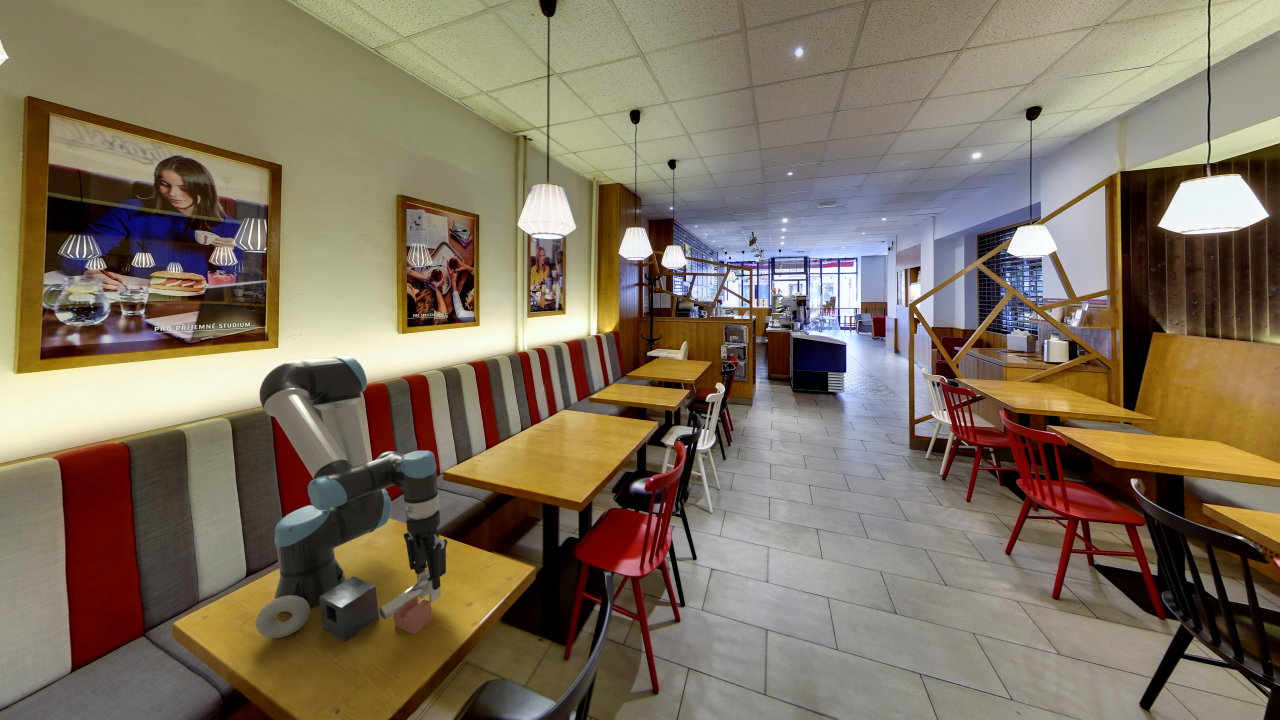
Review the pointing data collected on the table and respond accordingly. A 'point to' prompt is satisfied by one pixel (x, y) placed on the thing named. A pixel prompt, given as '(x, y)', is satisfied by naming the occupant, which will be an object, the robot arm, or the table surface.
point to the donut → (282, 628)
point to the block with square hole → (349, 608)
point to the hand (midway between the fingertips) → (430, 596)
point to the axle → (404, 598)
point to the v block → (413, 616)
